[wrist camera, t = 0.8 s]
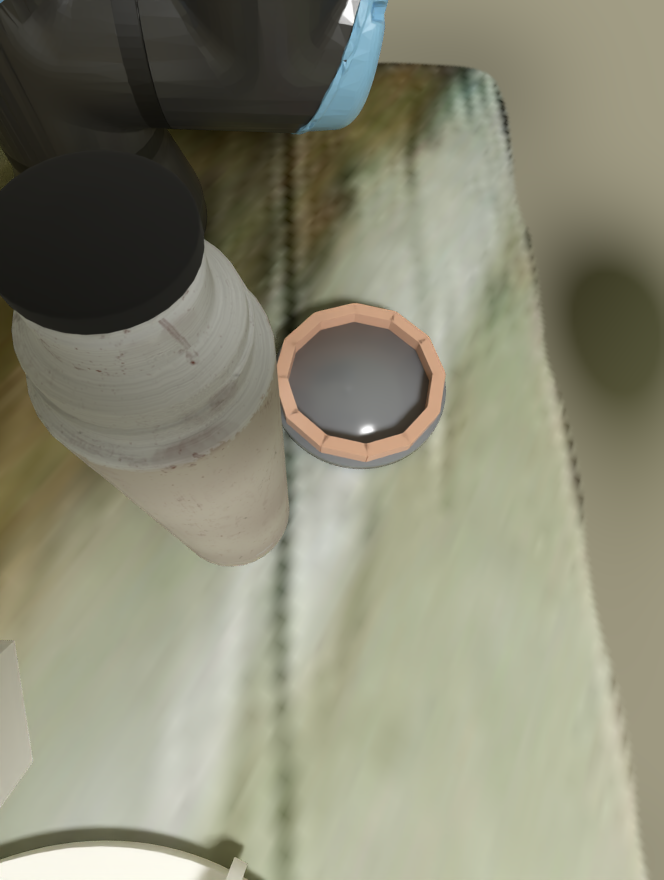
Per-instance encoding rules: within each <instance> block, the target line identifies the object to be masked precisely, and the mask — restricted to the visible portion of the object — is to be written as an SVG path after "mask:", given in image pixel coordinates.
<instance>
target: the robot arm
mask: <svg viewBox="0 0 664 880" xmlns="http://www.w3.org/2000/svg"><path fill="white" fill-rule="evenodd" d="M387 3H388V0H0V147H1V148H2V150H3V151H4V153H5V155H6V156H7V158H8V160H9V161H10V163H11V165H12V167H13V172H14V177H16V176H18V175H19V174H21V173H22V172H24V171H25V170H26V169H28V168H30V167H32V166H35V165H37V164H39V163H41V162H43V161H45V160H48V159H51V158H54V157H57V156H60V155H63V154H68V153H74V152H79V151H86V150H112V151H122V152H127V153H131V154H135V155H139V156H143V157H145V158H148V159H150V160H152V161H154V162H157V163H159V164H161V165H162V166H164V167H165V168H167V169H168V170H170V171H171V172H173V173H174V174H175V175H176V176H177V177H178V178H179V179H180V180H181V181H182V182H183V183H184V184H185V185H186V186H187V188H188V189H189V191H190V193H191V194H192V196H193V198H194V199H195V202H196V205H197V208H198V211H199V215H200V218H201V223H202V227H203V231H204V232H205V228H206V223H207V210H206V205H205V200H204V196H203V191H202V187H201V184H200V182H199V179H198V177H197V175H196V173H195V171H194V170H193V168H192V167H191V165H190V164H189V162H188V161H187V159H186V157H185V156H184V154H183V153H182V151H181V150H180V148H179V147H178V145H177V144H176V142H175V141H174V139H173V138H172V136H171V135H170V133H169V131H168V130H167V129H194V130H222V131H251V132H279V133H291V134H303V133H305V132H307V131H322V130H337V129H340V128H343V127H345V126H347V125H349V124H350V123H351V122H352V121H353V120H354V119H355V118H356V117H357V116H358V114H359V113H360V111H361V109H362V108H363V106H364V104H365V101H366V99H367V97H368V94H369V91H370V88H371V85H372V82H373V79H374V75H375V71H376V68H377V63H378V59H379V55H380V51H381V46H382V41H383V35H384V28H385V22H384V13H385V10H386V7H387ZM32 763H33V757H32V750H31V744H30V737H29V731H28V724H27V718H26V711H25V705H24V698H23V692H22V685H21V679H20V672H19V666H18V659H17V653H16V646H15V640H0V808H1V806H2V805H3V803H4V802H5V801H6V799H7V798H8V796H9V795H10V794H11V792H12V791H13V789H14V788H15V787H16V785H17V784H18V782H19V781H20V780H21V778H22V777H23V775H24V774H25V773H26V771H27V770H28V768H29V767H30V766H31V764H32Z"/></svg>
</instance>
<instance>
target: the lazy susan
mask: <svg viewBox="0 0 664 880" xmlns="http://www.w3.org/2000/svg"><path fill="white" fill-rule="evenodd" d="M246 867H247V863H246V862H244V861H242V860H240V859H238V858H236V857H234V859H233V862H232V864H231V867H230V869H228V868H225V867H223V866H221V865H219V864H217V863H215V862H212V861H210V860H207V859H205V858H202V857H199V856H197V855H194V854H191V853H187V852H184V851H181V850H177V849H173V848H169V847H165V846H159V845H154V844H148V843H140V842H131V841H109V840H103V841H83V842H73V843H65V844H58V845H53V846H48V847H43V848H38V849H34V850H30V851H26V852H23V853H19V854H16V855H12V856H9V857H6V858H3V859H0V880H248V879H246V878H244V877H243V876H244V873H245V870H246Z"/></svg>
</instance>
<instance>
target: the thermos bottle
mask: <svg viewBox="0 0 664 880" xmlns="http://www.w3.org/2000/svg"><path fill="white" fill-rule="evenodd" d="M0 295H1V296H2V298H3V299H4V300H5V301H6V302H7V303H8V304H9V306H10V307H12V308H13V309H14V313H13V322H12V336H13V344H14V350H15V352H16V355H17V357H18V359H19V362H20V364H21V367H22V369H23V370H24V371H25V373H26V378H27V385H28V392H29V396H30V399H31V401H32V403H33V406H34V408H35V411H36V413H37V416H38V417H39V418H40V420H41V421H42V423H43V424H44V425H45V427H46V428H47V429H48V431H49V432H50V433H51V435H52V436H54V437H55V438H56V439H57V440H58V441H59V442H61V443H62V444H63V445H64V446H65V447H67V448H68V449H69V450H70V451H71V452H72V453H74V454H75V455H76V456H77V457H79V458H80V459H81V460H82V461H83V462H85V463H86V464H87V465H88V466H90V467H91V468H92V469H93V470H95V471H96V472H97V473H99V474H100V475H101V476H102V477H104V478H105V479H106V480H107V481H109V482H110V483H111V484H112V485H113V486H115V487H116V488H117V489H118V490H119V491H121V492H122V493H123V494H124V495H125V496H126V497H128V498H129V499H130V500H131V501H132V502H134V503H135V504H136V505H137V506H138V507H140V508H141V509H142V510H143V511H145V512H146V513H147V514H148V515H149V516H151V517H152V518H153V519H154V520H156V521H157V522H158V523H159V524H160V525H162V526H163V527H164V528H165V529H167V530H168V531H169V532H170V533H171V534H173V535H174V536H175V537H176V538H178V539H179V540H180V541H181V542H182V543H184V544H185V545H186V546H187V547H189V548H190V549H191V550H192V551H193V552H195V553H196V554H197V555H198V556H200V557H201V558H203V559H205V560H207V561H208V562H210V563H214V564H217V565H221V566H240V565H245V564H248V563H252V562H254V561H256V560H258V559H260V558H262V557H263V556H265V555H266V554H267V553H269V552H270V551H271V550H272V549H273V548H274V547H275V546H276V544H277V543H278V542H279V541H280V539H281V537H282V535H283V534H284V532H285V529H286V526H287V523H288V518H289V499H288V488H287V477H286V465H285V453H284V442H283V430H282V419H281V407H280V396H279V385H278V373H277V362H276V351H275V341H274V334H273V331H272V328H271V325H270V322H269V319H268V316H267V315H266V313H265V311H264V310H263V308H262V306H261V305H260V303H259V301H258V300H257V298H256V297H255V296H254V295H253V294H252V293H251V292H250V291H249V290H248V289H247V287H246V286H245V284H244V282H243V281H242V279H241V277H240V276H239V274H238V273H237V272H236V270H235V268H234V267H233V265H232V263H231V262H230V261H229V260H228V259H227V258H226V257H225V256H224V255H223V253H222V252H221V251H220V250H219V249H218V248H216V247H215V246H213V245H212V244H210V243H209V242H208V241H206V240H205V239H204V231H203V227H202V223H201V218H200V215H199V211H198V208H197V205H196V202H195V199H194V198H193V196H192V194H191V193H190V191H189V189H188V188H187V186H186V185H185V184H184V183H183V182H182V181H181V180H180V179H179V178H178V177H177V176H176V175H175V174H174V173H173V172H171V171H170V170H168V169H167V168H165V167H164V166H162V165H161V164H159V163H157V162H154V161H152V160H150V159H148V158H145V157H143V156H139V155H135V154H131V153H127V152H122V151H112V150H86V151H79V152H74V153H68V154H63V155H60V156H57V157H54V158H51V159H48V160H45V161H43V162H41V163H39V164H37V165H35V166H32V167H30V168H28V169H26V170H25V171H24V172H22V173H21V174H19V175H18V176H16V177H15V178H14V179H12V180H11V181H10V182H9V183H8V184H7V185H6V186H4V187H3V188H2V189H1V190H0Z"/></svg>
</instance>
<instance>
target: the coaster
mask: <svg viewBox="0 0 664 880" xmlns="http://www.w3.org/2000/svg"><path fill="white" fill-rule="evenodd" d="M395 312H396V311H392V310H387V309H382V308H377V307H373V306H368V305H363V304H358V303H355V304H354V303H351V304H347V305H343V306H339V307H335V308H330V309H326V310H322V311H318V312H315V313H313V314H312V315H311V316H310V317H309V318H307V319H306V320H305V321H304V322H303V323H302V324H301V325H300V326H298V327H297V328H296V329H295V330H294V331H293V332H292V333H291V334H289V335H288V336H287V337H286V338H285V340H284V342H283V345H282V346H281V348H280V350H279V352H278V354H277V356H276V362H277V373H278V385H279V396H280V407H281V419H282V426H283V428H284V430H285V431H286V432H287V433H288V435H289V436H290V437H291V439H292V440H293V441H294V442H295V443H296V444H297V445H298V446H300V447H301V448H302V449H304V450H305V451H306V452H308V453H309V454H311V455H312V456H314V457H316V458H318V459H320V460H322V461H324V462H327V463H329V464H333V465H336V466H340V467H345V468H352V469H370V468H378V467H382V466H387V465H390V464H392V463H395V462H398V461H400V460H402V459H404V458H406V457H407V456H409V455H410V454H412V453H413V452H415V451H416V450H417V449H418V448H419V447H420V446H422V445H423V444H424V443H425V442H426V440H427V439H428V438H429V436H430V435H431V434H432V432H433V431H434V429H435V427H436V425H437V424H438V422H439V420H440V417H441V415H442V412H443V408H444V404H445V396H446V386H445V375H446V374H445V371H444V369H443V366H442V364H441V362H440V360H439V357H438V355H437V353H436V351H435V349H434V346H433V344H432V342H431V340H430V337H429V336H428V335H426V334H425V333H424V332H422V331H421V330H420V329H418V328H417V327H416V326H414V325H413V324H412V323H411V322H409V321H408V320H407V319H405V318H404V317H403V316H401V315H400V314H399V313H397V312H396V313H395Z"/></svg>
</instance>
